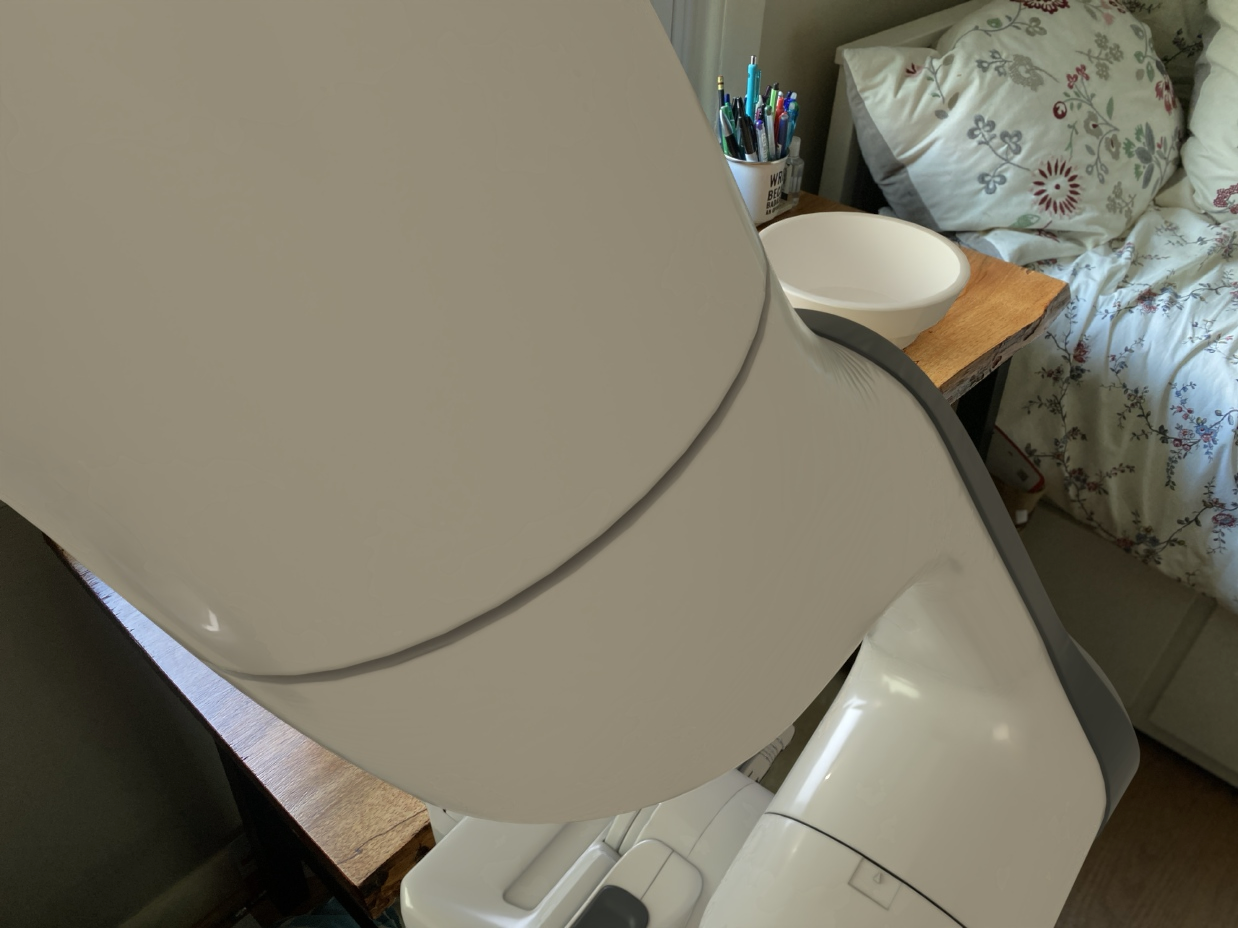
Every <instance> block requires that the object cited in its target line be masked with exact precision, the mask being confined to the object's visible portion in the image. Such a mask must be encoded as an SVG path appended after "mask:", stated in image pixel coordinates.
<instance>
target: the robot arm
mask: <svg viewBox="0 0 1238 928" xmlns="http://www.w3.org/2000/svg"><path fill="white" fill-rule="evenodd" d="M0 501H1V502H3V503H5V504H6V505H7V506H9V507H10V508H12V509H13V510H14V511H15V512H17V513H18V514H19V515H20V516H22V517H23V518H25V519H26V520H27V521H28V522H29V523H30V524H32V525H33V526H35V527H36V528H37V529H39V530H40V531H41V532H42V533H44V534H45V535H46V536H48V537H49V539H51V540H52V541H53V542H54V543H55V544H57V545H58V546H59V547H60V548H61V549H63V550H64V551H65V552H66V553H67V554H68V555H69V556H70V557H72V558H73V559H74V560H76V561H77V562H78V563H79V564H80V565H81V566H83V567H84V568H85V569H87V570H88V571H89V572H90V573H91V574H93V575H94V576H95V577H96V578H98V579H99V580H100V581H101V582H103V583H104V584H105V585H106V586H108V587H109V588H110V589H111V590H113V591H114V593H116V594H117V595H119V597H121V598H122V599H123V600H124V601H126V602H127V603H128V604H130V605H131V606H132V607H133V608H135V609H136V610H137V611H138V612H139V613H141V614H142V615H143V616H144V617H146V618H147V619H148V620H149V621H150V622H152V623H153V624H154V625H155V626H157V628H159V629H160V630H161V631H163V632H164V633H165V634H166V635H168V636H169V637H170V638H172V640H174V641H175V642H176V643H177V644H178V645H180V646H181V647H182V648H184V649H185V650H186V651H187V652H188V653H190V654H191V655H192V656H194V657H195V658H196V659H197V660H198V661H200V662H201V663H202V664H203V665H205V667H207V668H209V669H210V670H211V671H212V672H213V673H215V674H216V675H218V676H219V677H220V678H222V679H223V680H224V681H226V682H227V683H228V684H229V685H231V687H233V688H235V689H236V690H237V691H239V692H240V693H241V694H243V695H244V696H246V697H247V698H249V699H251V701H253V702H254V703H255V704H256V705H258V706H260V707H261V708H263V709H264V710H265V711H267V712H268V713H270V714H272V715H273V716H274V717H275V718H277V719H279V720H280V721H282V722H283V723H285V724H287V726H290V727H291V728H292V729H293V730H294V731H297V732H298V733H300V734H301V735H303V736H304V737H306V738H308V739H309V740H311V741H312V742H314V743H316V745H318V746H320V747H322V748H323V749H325V750H327V751H329V752H330V753H331V754H333V755H334V756H337V757H338V758H340V759H342V760H344V761H345V762H347V763H349V764H350V765H352V766H354V767H356V768H357V769H359V770H361V771H362V772H364V773H366V774H368V775H370V776H372V777H374V778H375V779H378V780H379V781H381V782H383V783H385V784H388V785H389V786H391V787H393V788H395V789H396V790H399V791H401V792H402V793H405V794H407V795H409V796H411V797H413V798H415V799H417V801H419V802H421V803H422V804H423V805H424V806H425V807H426V810H427V814H428V819H429V822H430V826H431V830H432V835H433V838H434V841H435V845H434V846H433V848H431V850H429V851H428V852H427V853H426V855H424V857H422V858H421V859H420V861H419V862H417V863H416V864H415V865H414V866H413V867H412V868H411V869H410V870H409V871H408V872H407V873H406V874H405V875H404V877H403V878H402V880H401V883H400V890H399V891H400V892H399V893H400V894H399V895H400V897H399V898H400V913H401V917H402V921H403V923H404V927H405V928H1055V925H1056V923H1057V921H1058V919H1059V917H1060V914H1061V913H1062V910H1063V908H1064V906H1065V904H1066V901H1067V899H1068V897H1069V895H1070V893H1071V891H1072V888H1073V886H1074V884H1075V881H1076V880H1077V877H1078V876H1079V873H1080V871H1081V869H1082V867H1083V864H1084V862H1085V860H1086V858H1087V856H1088V854H1089V851H1090V849H1091V847H1092V845H1093V843H1094V842H1095V840H1097V838H1098V837H1099V836H1100V835H1101V834H1102V833H1103V830H1104V828H1105V827H1106V825H1107V823H1108V822H1109V820H1110V818H1111V816H1112V815H1113V813H1114V811H1115V809H1116V807H1118V804H1119V802H1120V800H1121V799H1122V798H1123V795H1124V794H1125V792H1126V790H1127V789H1128V787H1129V785H1130V783H1131V782H1132V780H1133V779H1134V776H1135V775H1136V774H1137V771H1138V769H1139V766H1140V761H1141V749H1140V745H1139V740H1138V737H1137V734H1136V731H1135V729H1134V727H1133V724H1132V720H1131V719H1130V716H1129V714H1128V711H1127V709H1126V708H1125V705H1124V703H1123V701H1122V699H1121V697H1120V695H1119V693H1118V691H1117V690H1116V688H1115V686H1114V685H1113V683H1112V681H1111V680H1110V679H1109V677H1108V676H1107V675H1106V673H1105V671H1104V670H1103V669H1102V668H1101V666H1100V665H1099V664H1098V663H1097V661H1095V659H1094V658H1093V656H1091V655H1090V654H1089V652H1088V651H1086V650H1085V648H1083V646H1082V645H1081V644H1080V643H1078V642H1077V640H1076V639H1074V637H1072V636H1071V634H1069V633H1068V632H1067V630H1066V628H1065V627H1064V625H1063V623H1062V621H1061V620H1060V617H1059V616H1058V614H1057V612H1056V610H1055V608H1054V606H1053V604H1052V602H1051V599H1050V598H1049V596H1048V593H1047V592H1046V589H1045V587H1044V585H1043V583H1042V580H1041V578H1040V577H1039V574H1038V572H1037V570H1036V569H1035V566H1034V564H1033V562H1032V560H1031V558H1030V556H1029V553H1028V551H1027V550H1026V547H1025V545H1024V544H1023V541H1022V538H1021V537H1020V535H1019V532H1018V530H1017V528H1016V526H1015V524H1014V522H1013V520H1012V518H1011V516H1010V513H1009V512H1008V509H1007V507H1006V505H1005V502H1004V501H1003V499H1002V497H1001V495H1000V493H999V491H998V489H997V487H996V485H995V482H994V480H993V478H992V477H991V474H990V473H989V470H988V469H987V467H986V464H985V463H984V460H983V459H982V457H981V455H980V453H979V451H978V449H977V448H976V446H975V444H974V442H973V440H972V438H971V437H970V435H969V433H968V431H967V429H966V428H965V426H964V424H963V422H962V421H961V420H960V419H959V416H958V415H957V414H956V412H955V410H954V409H953V407H952V406H951V404H950V403H949V401H948V400H947V398H946V397H945V395H944V394H943V393H942V392H941V391H940V389H939V388H938V387H937V385H936V384H935V383H934V381H933V380H932V379H931V378H930V377H929V376H928V374H927V373H926V372H925V371H924V369H922V368H921V367H920V365H918V364H917V363H916V362H915V361H914V360H913V359H912V358H911V357H910V356H909V355H908V354H907V353H905V352H904V350H903V349H899V348H898V347H897V346H896V345H894V344H893V343H892V342H890V341H889V340H887V339H886V338H884V337H883V336H881V335H880V334H878V333H876V332H875V331H873V330H871V329H869V328H867V327H865V326H863V325H861V324H859V323H857V322H854V321H852V320H849V319H847V318H844V317H841V316H838V315H834V314H830V313H827V312H822V311H817V310H810V309H803V308H793V306H792V305H791V303H790V301H789V300H788V298H787V296H786V294H785V292H784V291H783V289H782V286H781V284H780V282H779V280H778V278H777V276H776V274H775V272H774V270H773V267H772V265H771V262H770V260H769V258H768V255H767V253H766V251H765V248H764V246H763V244H762V241H761V238H760V236H759V231H758V229H757V227H756V225H755V222H754V220H753V218H752V215H751V212H750V211H749V208H748V206H747V204H746V201H745V199H744V197H743V195H742V192H741V189H740V187H739V185H738V183H737V180H736V178H735V176H734V173H733V171H732V169H731V166H730V164H729V161H728V159H727V156H726V154H725V152H724V150H723V147H722V145H721V143H720V141H719V139H718V136H717V135H716V132H715V131H714V129H713V126H712V124H711V122H710V120H709V118H708V115H707V114H706V112H705V110H704V108H703V105H702V103H701V102H700V100H699V98H698V95H697V93H696V91H695V89H694V87H693V85H692V84H691V81H690V79H689V77H688V75H687V73H686V71H685V69H684V67H683V65H682V63H681V61H680V59H679V57H678V54H677V53H676V50H675V48H674V46H673V44H672V42H671V40H670V38H669V36H668V34H667V32H666V30H665V28H664V25H663V23H662V22H661V20H660V18H659V16H658V14H657V12H656V10H655V8H654V7H653V4H652V3H651V1H650V0H0ZM860 644H861V646H860V649H859V651H858V653H857V655H856V658H855V661H854V663H853V664H852V666H851V669H850V671H849V673H848V675H847V677H846V679H845V681H844V683H843V684H842V686H841V688H840V689H839V691H838V693H837V694H836V696H835V698H834V699H833V701H832V703H831V704H830V705H829V708H828V709H827V711H826V713H825V715H824V716H823V718H822V719H821V720H820V722H819V724H818V725H817V727H816V729H815V730H814V732H813V734H812V735H811V736H810V739H809V740H808V742H807V743H806V744H805V746H804V748H803V750H802V751H801V753H800V755H799V756H798V758H797V759H796V761H795V763H794V764H793V766H792V768H791V769H790V771H789V772H788V774H787V775H786V777H785V779H784V780H783V782H782V784H781V785H780V787H779V788H778V790H777V792H776V793H773V792H772V791H770V790H769V789H767V788H766V787H764V786H763V785H761V784H760V783H761V782H762V781H763V780H764V778H765V777H766V776H767V774H768V773H769V771H770V770H771V768H772V766H773V764H774V763H775V761H776V759H777V758H778V756H779V755H780V754H781V753H782V752H784V751H785V750H786V749H787V748H788V747H789V746H790V744H791V743H792V741H793V739H794V738H795V735H796V732H797V731H796V727H795V725H794V723H795V722H796V721H797V719H799V717H801V715H802V714H803V713H804V712H805V711H806V710H807V708H809V706H810V705H812V703H813V701H815V700H816V698H817V697H818V696H819V695H820V694H821V693H822V691H823V690H824V689H825V688H826V686H827V685H828V684H829V683H830V682H831V680H832V679H833V678H834V677H835V676H836V675H837V673H838V672H839V671H840V670H841V668H842V667H843V666H844V664H845V663H846V662H847V660H848V659H849V658H850V657H851V656H852V654H853V653H854V652H855V650H856V649H857V648H858V647H859V645H860ZM444 810H445V811H444Z"/></svg>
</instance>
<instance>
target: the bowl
mask: <svg viewBox="0 0 1238 928" xmlns="http://www.w3.org/2000/svg"><path fill="white" fill-rule="evenodd" d="M758 234H759V236H760V238H761V241H762V244H763V246H764V248H765V251H766V253H767V255H768V258H769V260H770V262H771V265H772V267H773V270H774V272H775V274H776V276H777V278H778V280H779V282H780V284H781V286H782V289H783V291H784V292H785V294H786V296H787V298H788V300H789V301H790V303H791V305H792V306H793V308H803V309H810V310H817V311H822V312H827V313H830V314H834V315H838V316H841V317H844V318H847V319H849V320H852V321H854V322H857V323H859V324H861V325H863V326H865V327H867V328H869V329H871V330H873V331H875V332H876V333H878V334H880V335H881V336H883V337H884V338H886V339H887V340H889V341H890V342H892V343H893V344H894V345H896V346H897V347H898V348H899V349H901V350H903V349H905V348H907V347H909V346H910V345H911V344H912V343H913V342H915V341H916V340H917V338H918V337H919V336H920V334H921V333H922V332H925V331H927V330H928V329H930V328H932V327H934V326H936V325H937V324H938V323H939V322H941V320H942V319H943V318H945V316H946V315H947V313H948V312H949V311H950V309H951V308H952V306H953V305H954V303H955V302H956V301H957V299H958V298H959V296H960V295H961V294H962V292H963V290H964V289H965V287H966V286H967V284H968V282H969V280H970V278H971V264H970V262H969V259H968V257H967V255H966V254H965V252H963V251H962V249H961V248H960V247H959V246H958V245H957V244H955V243H954V242H953V241H951V240H950V239H949V238H948V237H946V236H944V235H942V234H940V233H938V232H937V231H934V230H933V229H931V228H927V227H925V226H924V225H923V226H922V225H920V224H918V223H916V222H915V223H914V222H911V221H908V220H904V219H901V218H896V217H892V216H886V215H883V214H882V215H881V214H876V213H875V214H874V213H866V212H858V211H855V212H854V211H826V212H825V211H823V212H821V211H820V212H814V213H806V214H800V215H796V216H791V217H788V218H784V219H782V220H779V221H777V222H774V223H772V224H770V225H768V226H767V227H765V228H763V229H762V230H760V231H759V232H758Z"/></svg>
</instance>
